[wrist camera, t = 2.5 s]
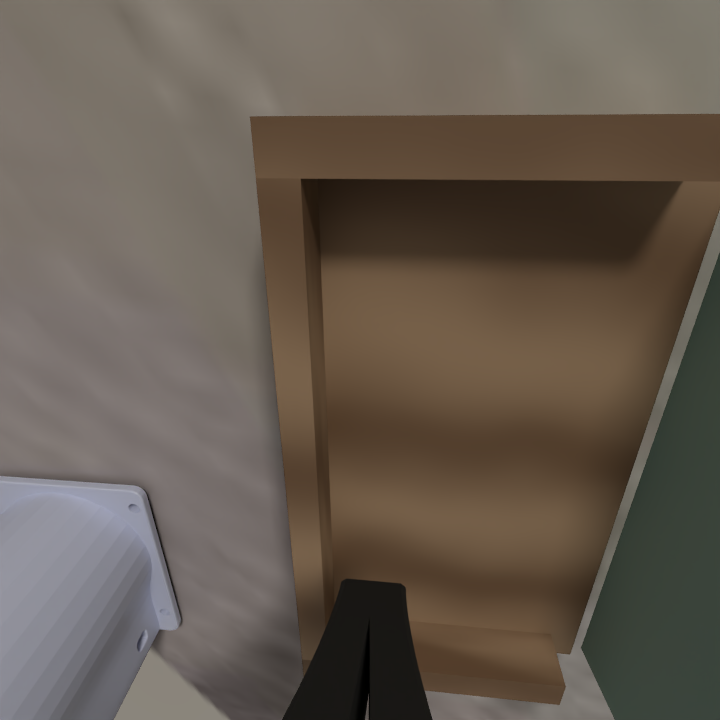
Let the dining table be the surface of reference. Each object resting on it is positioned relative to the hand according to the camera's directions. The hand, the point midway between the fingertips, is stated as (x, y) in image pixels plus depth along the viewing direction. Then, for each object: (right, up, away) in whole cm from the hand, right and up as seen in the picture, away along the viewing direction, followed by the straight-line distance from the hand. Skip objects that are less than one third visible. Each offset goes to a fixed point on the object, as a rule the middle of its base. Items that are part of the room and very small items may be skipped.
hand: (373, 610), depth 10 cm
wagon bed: (+3, +3, +7) cm, 8 cm away
